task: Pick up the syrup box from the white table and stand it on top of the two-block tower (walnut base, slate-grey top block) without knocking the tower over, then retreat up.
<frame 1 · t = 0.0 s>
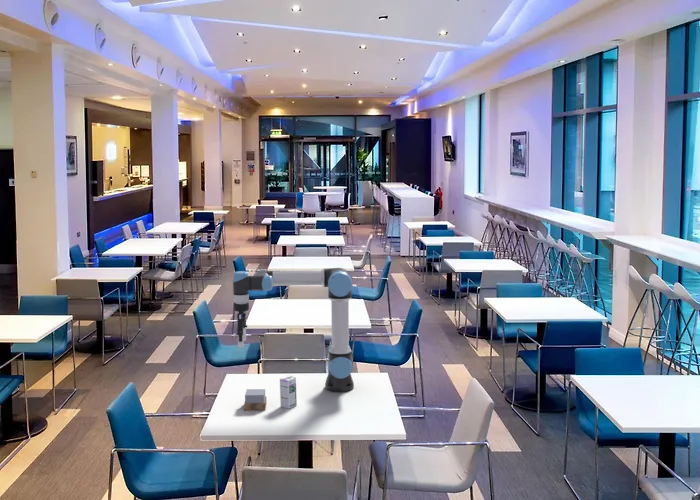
hand: (242, 344, 375), 28 cm above the table, tool pointing down, fingers open, 13 cm apart
walnut base block: (255, 407, 366), on the table, touching slate top block
slate top block: (255, 400, 365), point 4 cm above the table, touching walnut base block
syrup box: (288, 406, 366), on the table
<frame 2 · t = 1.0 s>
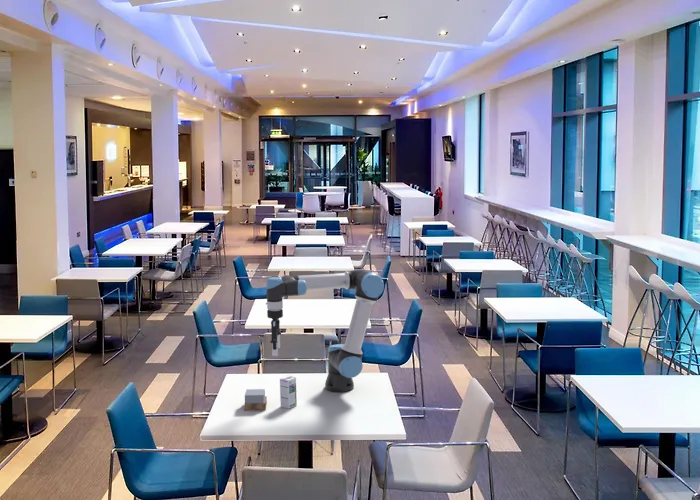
hand: (276, 351, 366), 27 cm above the table, tool pointing down, fingers open, 13 cm apart
walnut base block: (255, 407, 366), on the table
slate top block: (255, 400, 365), point 4 cm above the table
everything else where it was.
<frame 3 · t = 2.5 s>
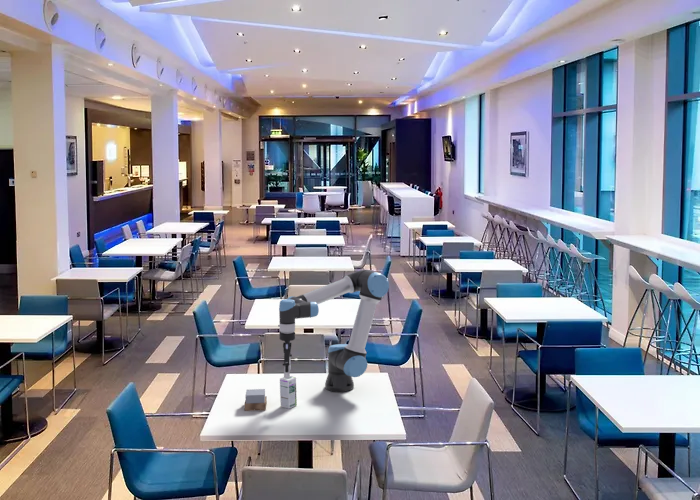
hand: (287, 374, 364), 16 cm above the table, tool pointing down, fingers open, 13 cm apart
walnut base block: (255, 407, 366), on the table, touching slate top block
slate top block: (255, 400, 365), point 4 cm above the table, touching walnut base block
everything else where it was.
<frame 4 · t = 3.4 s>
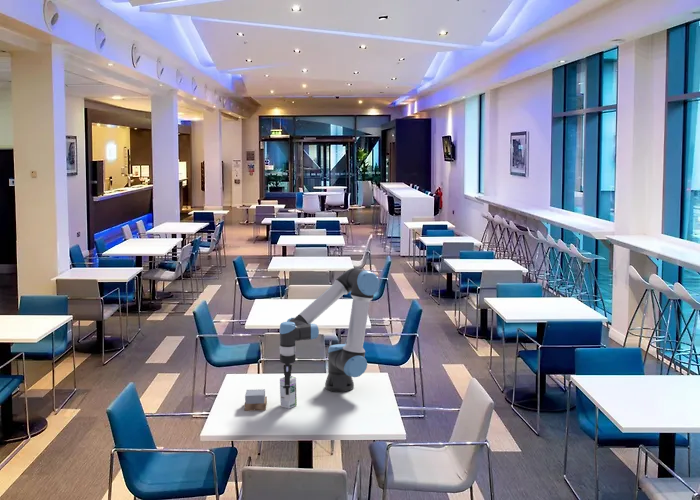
hand: (287, 396, 366), 5 cm above the table, tool pointing down, fingers open, 13 cm apart
nothing on the table moved.
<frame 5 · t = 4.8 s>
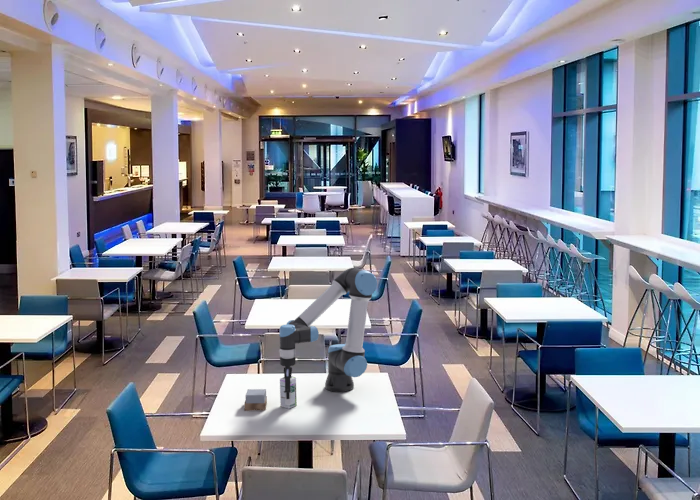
hand: (288, 401, 366), 2 cm above the table, tool pointing down, fingers closed on syrup box, 8 cm apart
syrup box: (288, 406, 366), on the table, touching gripper
everything else where it was.
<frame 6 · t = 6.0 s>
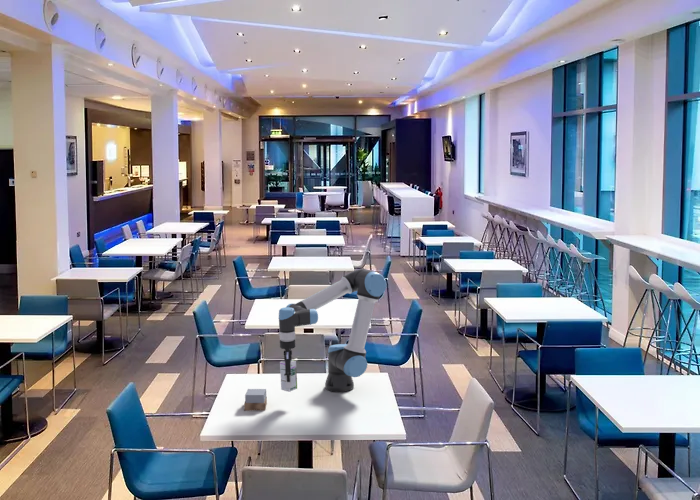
hand: (288, 385, 365), 11 cm above the table, tool pointing down, fingers closed on syrup box, 8 cm apart
syrup box: (289, 389, 365), point 8 cm above the table, touching gripper
everything else where it was.
when the fingers open (12 cm above the table, at t = 10.3 s): syrup box drops 1 cm, resting on slate top block.
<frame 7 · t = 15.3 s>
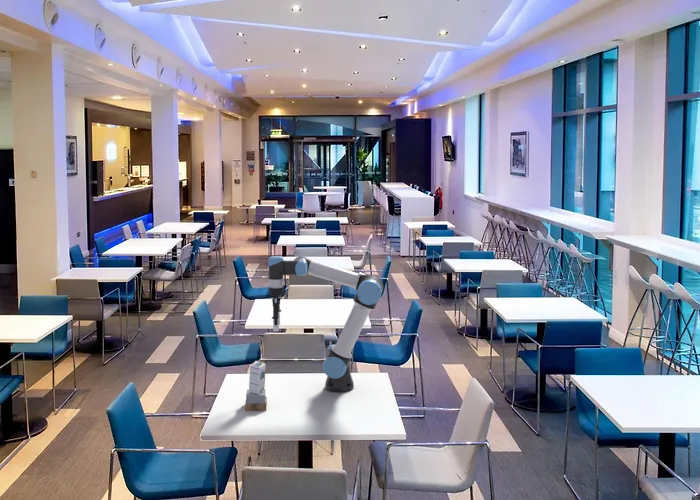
hand: (276, 327, 380), 35 cm above the table, tool pointing down, fingers open, 13 cm apart
slate top block: (255, 400, 365), point 4 cm above the table, touching syrup box, walnut base block
syrup box: (256, 391, 364), point 8 cm above the table, touching slate top block
everything else where it was.
at the end: syrup box 0.4 cm off-centre on the slate top block, point 4.6 cm above the slate top block's base; syrup box tilted 12°; slate top block 0.2 cm off-centre on the walnut base block, point 4.0 cm above the walnut base block's base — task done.
